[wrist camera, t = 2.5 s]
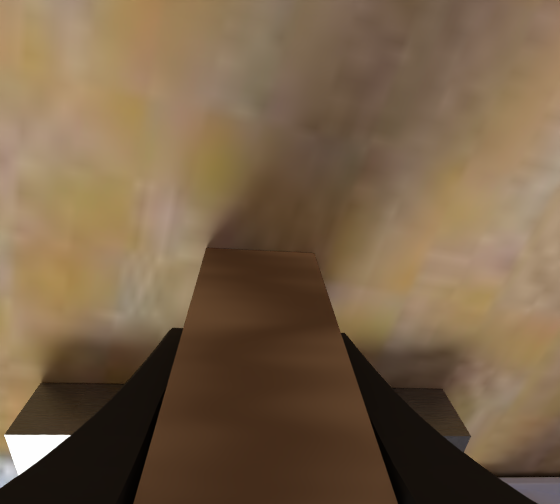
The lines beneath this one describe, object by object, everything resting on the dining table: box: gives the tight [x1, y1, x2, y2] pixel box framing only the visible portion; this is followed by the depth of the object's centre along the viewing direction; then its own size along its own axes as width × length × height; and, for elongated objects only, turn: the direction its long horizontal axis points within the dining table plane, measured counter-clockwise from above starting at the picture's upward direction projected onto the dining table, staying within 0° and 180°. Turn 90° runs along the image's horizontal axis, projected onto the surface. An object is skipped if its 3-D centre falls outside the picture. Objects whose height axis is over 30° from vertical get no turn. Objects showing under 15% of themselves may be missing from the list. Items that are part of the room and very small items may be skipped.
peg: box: [133, 248, 398, 504], centre depth 10 cm, size 4×4×9 cm
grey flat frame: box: [5, 383, 471, 475], centre depth 18 cm, size 18×10×2 cm, turn 85°
